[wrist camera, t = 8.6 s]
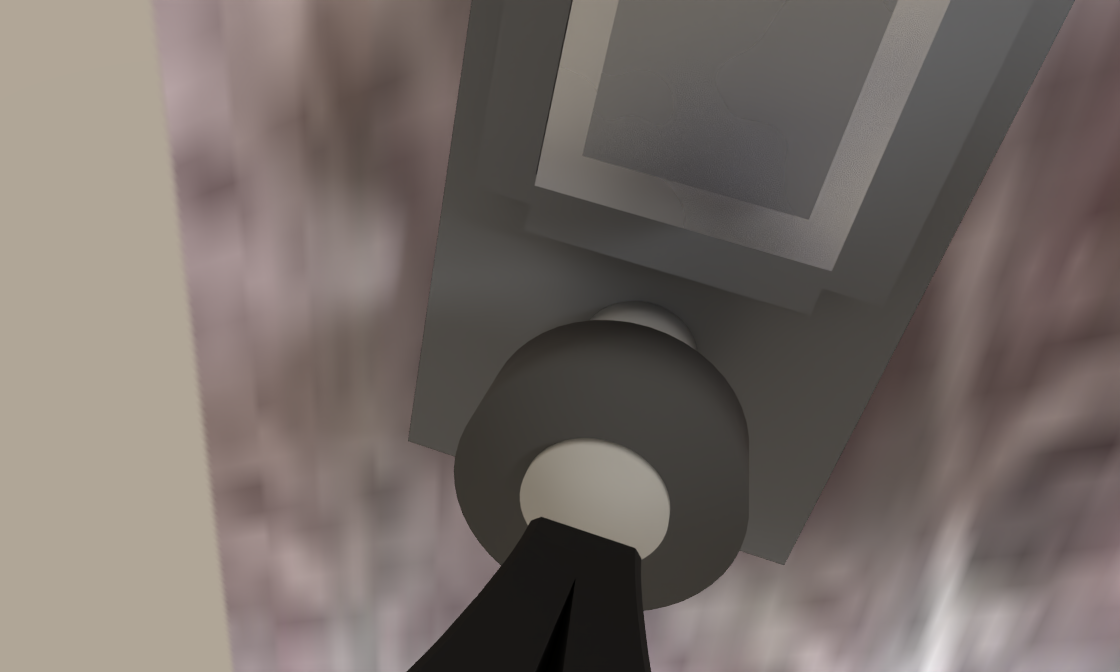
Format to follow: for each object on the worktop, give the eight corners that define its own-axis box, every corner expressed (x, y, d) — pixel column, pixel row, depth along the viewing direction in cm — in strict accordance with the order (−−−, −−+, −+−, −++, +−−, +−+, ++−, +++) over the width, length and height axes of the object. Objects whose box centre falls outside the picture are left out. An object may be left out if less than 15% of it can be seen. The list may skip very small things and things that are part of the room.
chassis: (1177, -257, 10) (1296, -318, 8) (782, 534, 17) (786, 616, 15) (549, -388, 11) (500, -477, 9) (424, 418, 18) (379, 479, 16)
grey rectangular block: (921, -142, 10) (1075, -236, 6) (803, 165, 13) (836, 292, 8) (682, -196, 11) (625, -332, 6) (607, 111, 13) (520, 199, 8)
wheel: (789, 369, 11) (797, 436, 9) (700, 574, 13) (693, 656, 12) (512, 284, 11) (473, 336, 10) (468, 496, 14) (432, 566, 12)
